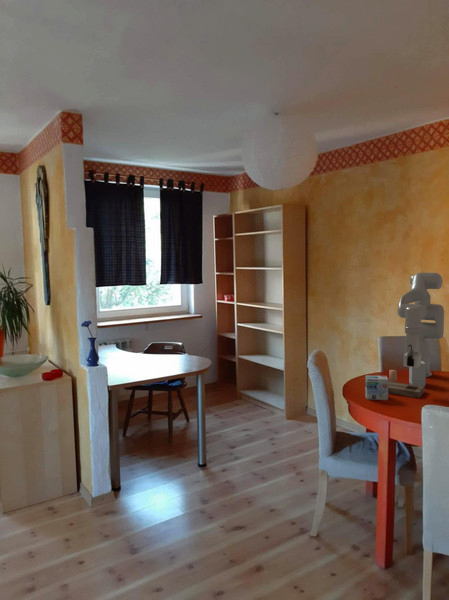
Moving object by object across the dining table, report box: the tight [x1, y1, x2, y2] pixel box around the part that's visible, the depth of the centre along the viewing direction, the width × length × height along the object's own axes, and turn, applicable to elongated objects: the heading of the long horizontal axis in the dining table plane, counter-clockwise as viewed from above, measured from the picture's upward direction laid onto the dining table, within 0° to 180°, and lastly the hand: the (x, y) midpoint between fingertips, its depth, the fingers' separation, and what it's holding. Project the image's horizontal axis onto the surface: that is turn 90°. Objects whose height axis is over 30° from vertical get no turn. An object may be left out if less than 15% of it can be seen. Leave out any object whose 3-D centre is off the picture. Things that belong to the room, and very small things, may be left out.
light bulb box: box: [364, 375, 389, 401], centre depth 233 cm, size 11×7×11 cm, turn 80°
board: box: [388, 380, 426, 399], centre depth 242 cm, size 12×20×3 cm, turn 55°
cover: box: [403, 352, 421, 368], centre depth 238 cm, size 7×7×6 cm
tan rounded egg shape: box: [388, 369, 398, 383], centre depth 259 cm, size 4×4×7 cm
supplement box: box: [408, 361, 427, 387], centre depth 255 cm, size 7×7×13 cm
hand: (412, 364), depth 238 cm, fingers closed on cover, 7 cm apart
